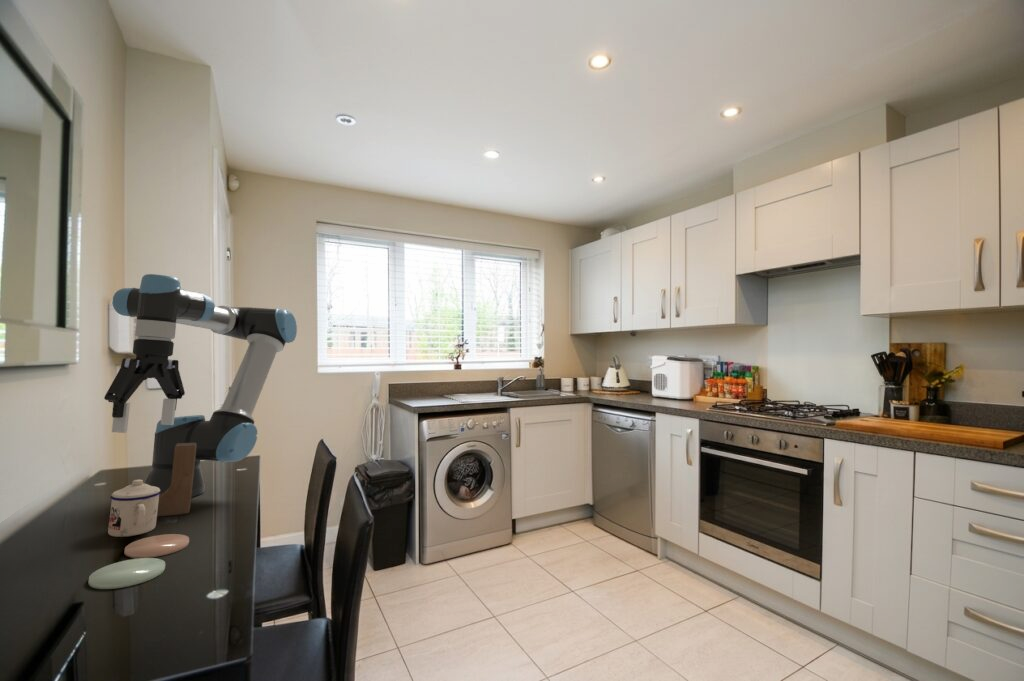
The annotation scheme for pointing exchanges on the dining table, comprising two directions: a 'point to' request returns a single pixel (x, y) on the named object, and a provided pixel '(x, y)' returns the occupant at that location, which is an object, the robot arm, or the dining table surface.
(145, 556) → the pink coaster
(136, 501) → the teacup with lid
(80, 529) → the dining table surface
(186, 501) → the wooden block
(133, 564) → the sage coaster
